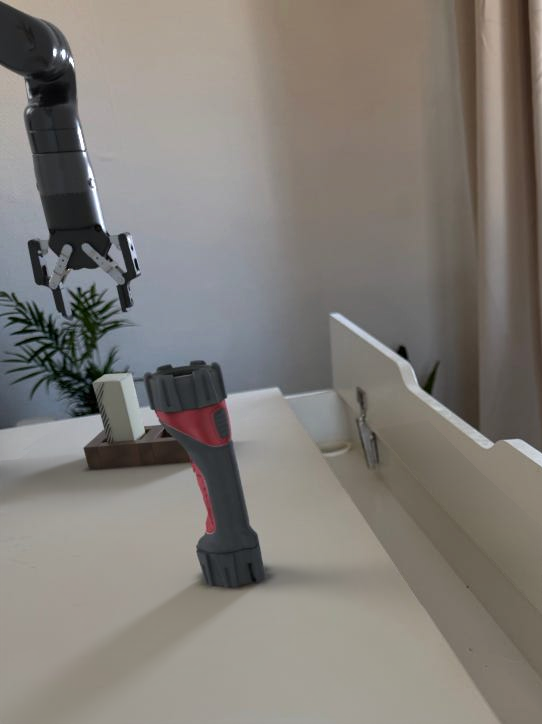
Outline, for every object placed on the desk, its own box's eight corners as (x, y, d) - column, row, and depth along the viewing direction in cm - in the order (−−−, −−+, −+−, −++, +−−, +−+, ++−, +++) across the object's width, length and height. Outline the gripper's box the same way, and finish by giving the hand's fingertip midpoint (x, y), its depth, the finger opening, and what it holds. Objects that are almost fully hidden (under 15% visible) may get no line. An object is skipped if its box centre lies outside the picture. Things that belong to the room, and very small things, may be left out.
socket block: (89, 473, 146) (83, 447, 144) (109, 454, 155) (103, 429, 153) (210, 464, 146) (204, 437, 144) (222, 445, 155) (218, 420, 153)
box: (124, 456, 153) (104, 373, 147) (151, 455, 152) (132, 371, 147) (111, 466, 148) (90, 381, 142) (140, 465, 148) (119, 379, 142)
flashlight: (186, 575, 108) (139, 365, 98) (256, 561, 110) (217, 354, 100) (194, 601, 102) (144, 380, 91) (269, 586, 104) (228, 368, 93)
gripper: (128, 185, 136) (153, 306, 143) (26, 192, 136) (56, 313, 143) (112, 187, 129) (139, 314, 137) (5, 194, 129) (37, 321, 137)
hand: (96, 313), depth 140 cm, fingers open, 8 cm apart
